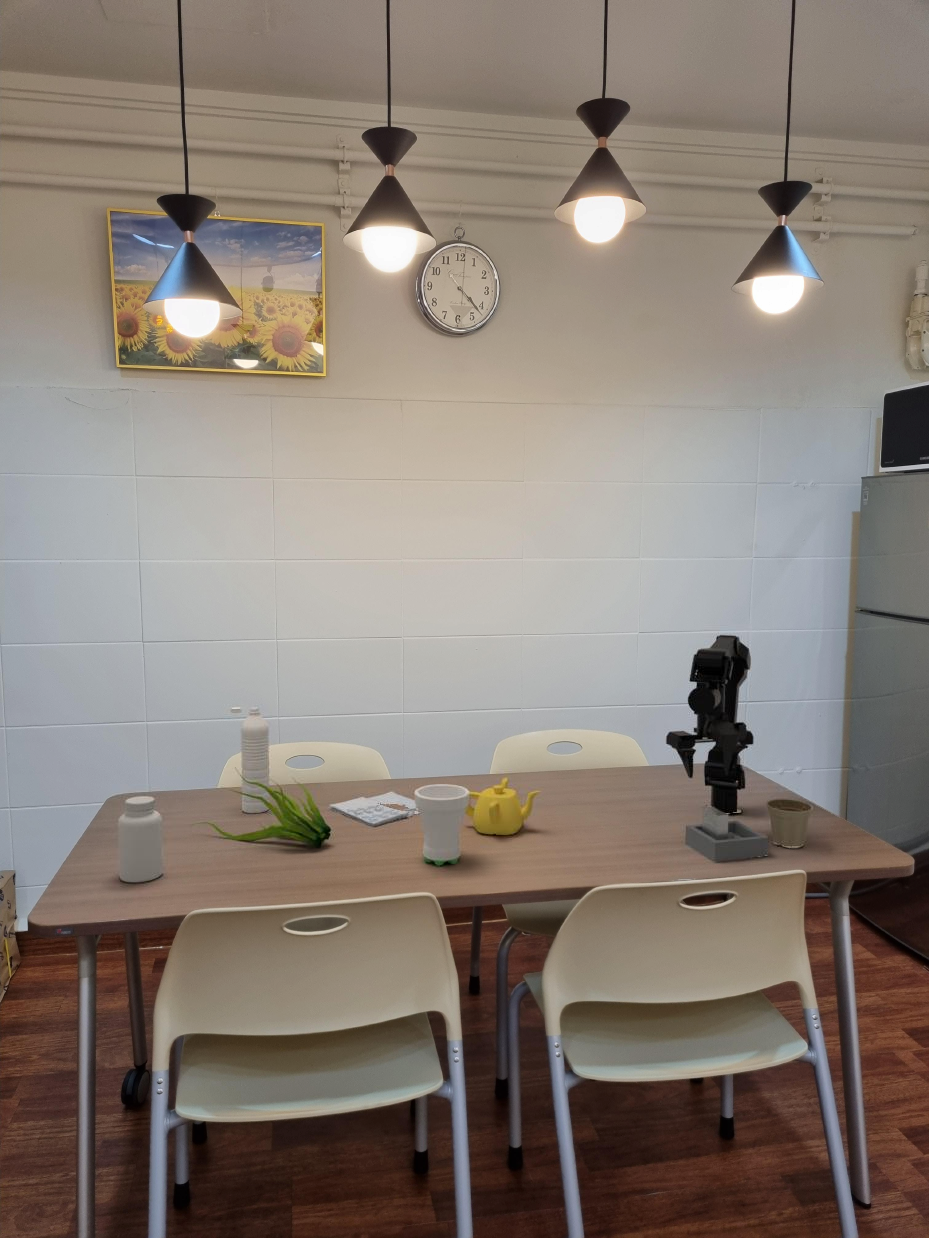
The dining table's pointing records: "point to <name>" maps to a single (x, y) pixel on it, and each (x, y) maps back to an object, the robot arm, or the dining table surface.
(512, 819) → the teapot
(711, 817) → the bracket
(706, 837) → the bin
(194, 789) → the dining table surface
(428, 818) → the cup
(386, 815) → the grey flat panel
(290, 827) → the decorative plant
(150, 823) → the pill bottle
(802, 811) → the flower pot
